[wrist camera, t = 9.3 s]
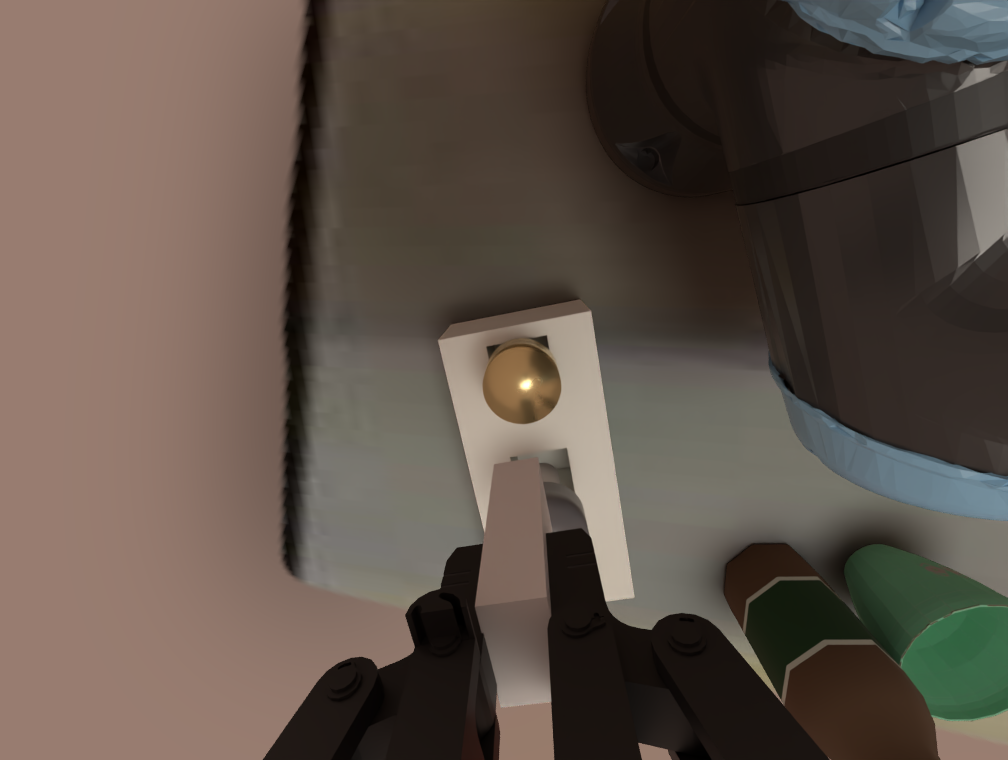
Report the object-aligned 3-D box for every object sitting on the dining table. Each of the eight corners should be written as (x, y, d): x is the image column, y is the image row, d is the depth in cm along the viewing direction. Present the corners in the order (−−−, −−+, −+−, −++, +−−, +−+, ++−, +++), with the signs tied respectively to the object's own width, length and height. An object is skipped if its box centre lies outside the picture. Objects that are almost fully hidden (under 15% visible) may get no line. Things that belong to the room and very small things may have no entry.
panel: (451, 324, 38) (437, 340, 32) (580, 299, 37) (591, 310, 31) (507, 565, 43) (504, 615, 38) (619, 548, 43) (634, 597, 37)
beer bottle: (707, 557, 42) (923, 937, 19) (796, 526, 41) (1140, 891, 18) (734, 624, 44) (961, 1044, 21) (820, 596, 43) (1160, 1009, 20)
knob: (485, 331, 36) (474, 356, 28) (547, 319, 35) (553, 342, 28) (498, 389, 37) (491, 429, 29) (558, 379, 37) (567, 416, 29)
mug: (791, 589, 43) (867, 690, 33) (859, 500, 40) (963, 582, 31) (930, 650, 44) (1042, 764, 35) (1005, 567, 42) (1150, 666, 32)
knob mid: (504, 452, 34) (499, 515, 26) (570, 441, 34) (584, 502, 26) (517, 510, 35) (515, 586, 28) (580, 500, 35) (596, 575, 27)
